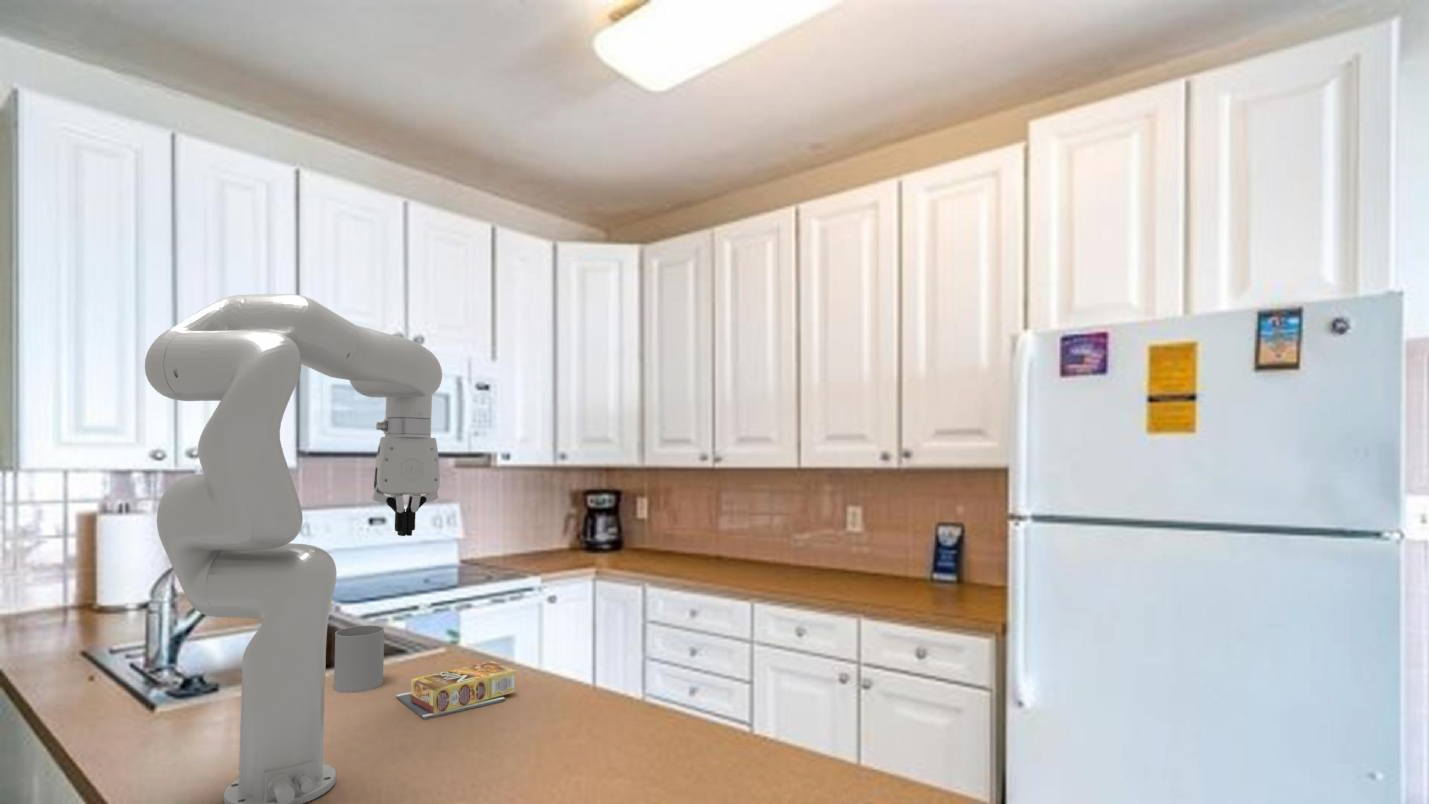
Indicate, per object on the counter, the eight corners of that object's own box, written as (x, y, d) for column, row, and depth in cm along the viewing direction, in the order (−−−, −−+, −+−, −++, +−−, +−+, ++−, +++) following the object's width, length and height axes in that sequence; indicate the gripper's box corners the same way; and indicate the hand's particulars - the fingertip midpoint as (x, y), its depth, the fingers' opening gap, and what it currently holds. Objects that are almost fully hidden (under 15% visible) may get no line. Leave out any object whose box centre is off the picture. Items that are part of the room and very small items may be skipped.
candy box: (516, 669, 136) (433, 688, 125) (516, 693, 135) (432, 715, 125) (491, 659, 142) (410, 677, 131) (490, 683, 142) (409, 702, 131)
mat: (504, 701, 133) (505, 698, 133) (423, 719, 124) (423, 716, 124) (473, 681, 144) (473, 679, 144) (396, 697, 135) (396, 695, 135)
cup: (334, 681, 144) (336, 628, 144) (382, 676, 147) (383, 623, 148) (333, 695, 136) (334, 638, 137) (383, 688, 140) (384, 633, 140)
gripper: (368, 427, 126) (363, 539, 125) (457, 430, 135) (455, 534, 134) (357, 429, 132) (353, 536, 131) (444, 431, 141) (441, 531, 140)
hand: (404, 535), depth 132 cm, fingers closed
